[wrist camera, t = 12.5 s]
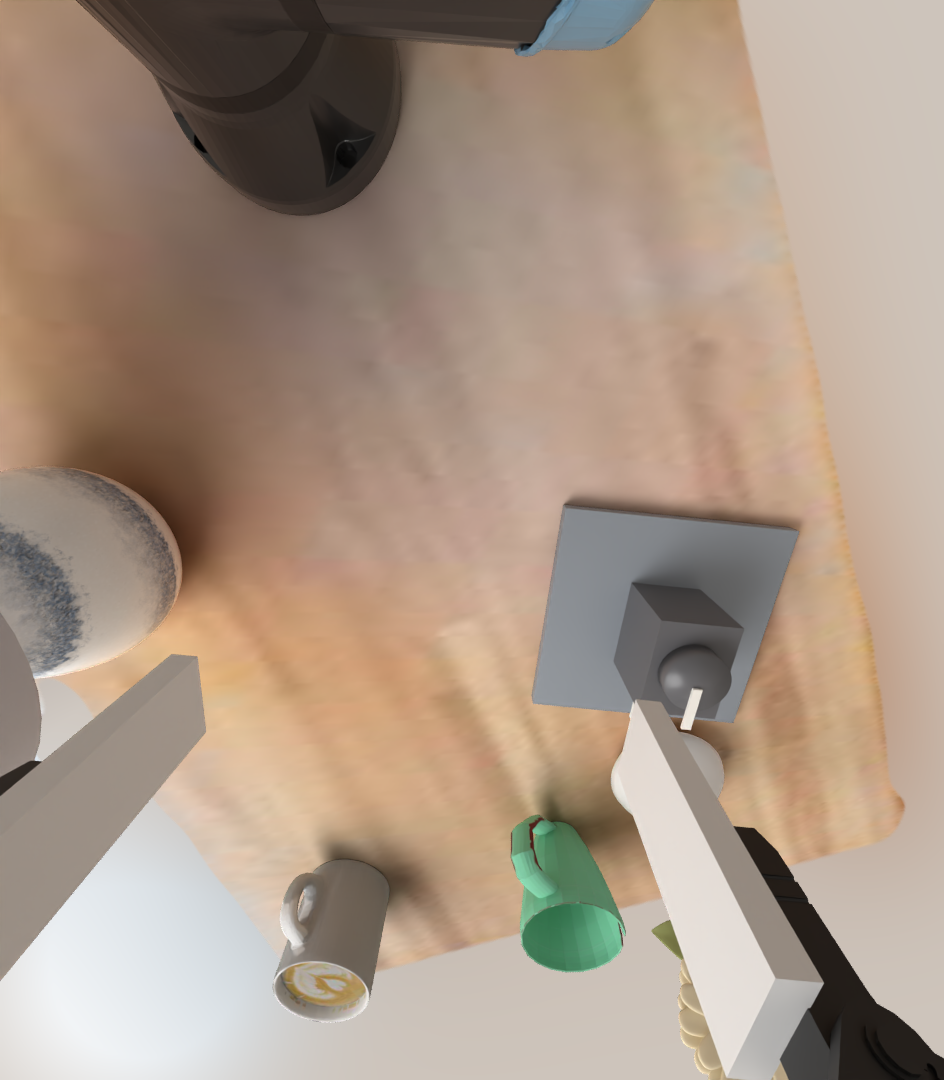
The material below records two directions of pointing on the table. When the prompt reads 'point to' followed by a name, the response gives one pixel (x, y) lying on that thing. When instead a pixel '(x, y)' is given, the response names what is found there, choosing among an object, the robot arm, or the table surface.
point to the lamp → (73, 585)
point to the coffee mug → (331, 940)
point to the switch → (658, 559)
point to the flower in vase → (691, 1012)
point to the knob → (677, 650)
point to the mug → (563, 899)
